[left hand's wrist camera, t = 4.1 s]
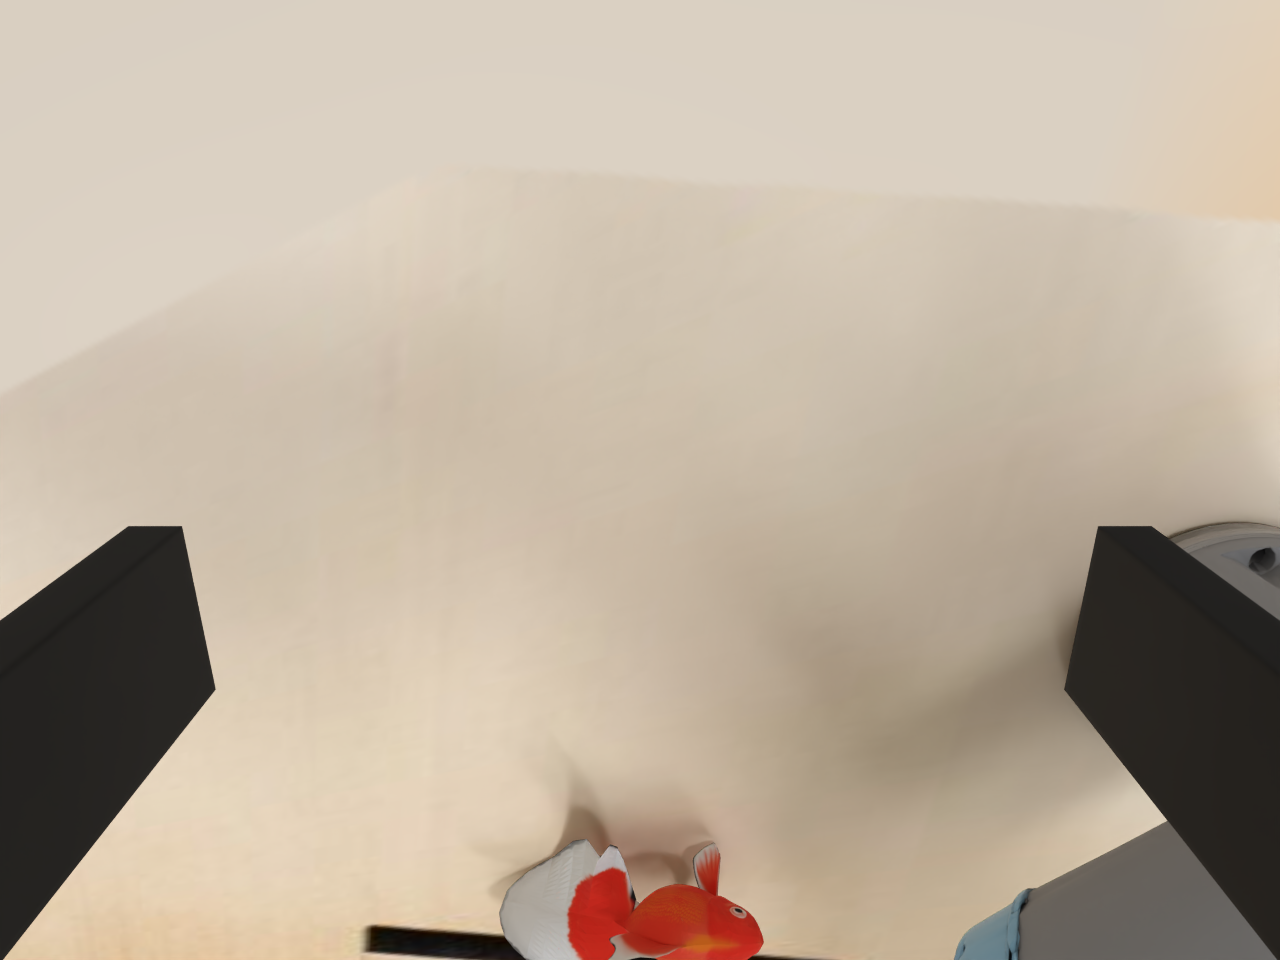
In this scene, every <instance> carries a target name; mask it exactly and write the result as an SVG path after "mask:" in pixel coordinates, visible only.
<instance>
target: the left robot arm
mask: <svg viewBox="0 0 1280 960" xmlns="http://www.w3.org/2000/svg"><path fill="white" fill-rule="evenodd" d="M215 690H216V689H215V684H214V679H213V674H212V669H211V665H210V660H209V655H208V650H207V645H206V640H205V636H204V631H203V626H202V621H201V616H200V611H199V607H198V602H197V597H196V592H195V587H194V582H193V578H192V573H191V568H190V563H189V558H188V553H187V549H186V544H185V539H184V534H183V529H182V526H128V527H127V528H125V529H124V530H123V531H121V532H120V533H119V534H117V535H116V536H115V537H113V538H112V539H110V540H109V541H108V542H106V543H105V544H104V545H102V546H101V547H100V548H98V549H97V550H95V551H94V552H93V553H91V554H90V555H89V556H87V557H86V558H85V559H83V560H82V561H81V562H79V563H78V564H76V565H75V566H74V567H72V568H71V569H70V570H68V571H67V572H66V573H64V574H63V575H61V576H60V577H59V578H57V579H56V580H55V581H53V582H52V583H51V584H49V585H48V586H47V587H45V588H44V589H42V590H41V591H40V592H38V593H37V594H36V595H34V596H33V597H32V598H30V599H29V600H27V601H26V602H25V603H23V604H22V605H21V606H19V607H18V608H17V609H15V610H14V611H13V612H11V613H10V614H8V615H7V616H6V617H4V618H3V619H2V620H0V960H3V959H4V958H5V956H6V955H7V954H8V953H9V951H10V950H11V949H12V948H13V946H14V945H15V944H16V942H17V941H18V940H19V939H20V937H21V936H22V935H23V934H24V932H25V931H26V930H27V929H28V927H29V926H30V925H31V923H32V922H33V921H34V920H35V918H36V917H37V916H38V915H39V913H40V912H41V911H42V909H43V908H44V907H45V906H46V904H47V903H48V902H49V901H50V899H51V898H52V897H53V895H54V894H55V893H56V892H57V890H58V889H59V888H60V887H61V885H62V884H63V883H64V881H65V880H66V879H67V878H68V876H69V875H70V874H71V873H72V871H73V870H74V869H75V868H76V866H77V865H78V864H79V862H80V861H81V860H82V859H83V857H84V856H85V855H86V854H87V852H88V851H89V850H90V848H91V847H92V846H93V845H94V843H95V842H96V841H97V840H98V838H99V837H100V836H101V834H102V833H103V832H104V831H105V829H106V828H107V827H108V826H109V824H110V823H111V822H112V820H113V819H114V818H115V817H116V815H117V814H118V813H119V812H120V810H121V809H122V808H123V807H124V805H125V804H126V803H127V801H128V800H129V799H130V798H131V796H132V795H133V794H134V793H135V791H136V790H137V789H138V787H139V786H140V785H141V784H142V782H143V781H144V780H145V779H146V777H147V776H148V775H149V773H150V772H151V771H152V770H153V768H154V767H155V766H156V765H157V763H158V762H159V761H160V759H161V758H162V757H163V756H164V754H165V753H166V752H167V751H168V749H169V748H170V747H171V746H172V744H173V743H174V742H175V740H176V739H177V738H178V737H179V735H180V734H181V733H182V732H183V730H184V729H185V728H186V726H187V725H188V724H189V723H190V721H191V720H192V719H193V718H194V716H195V715H196V714H197V712H198V711H199V710H200V709H201V707H202V706H203V705H204V704H205V702H206V701H207V700H208V698H209V697H210V696H211V695H212V693H213V692H214V691H215ZM1064 690H1065V691H1066V692H1067V693H1068V695H1069V696H1070V697H1071V698H1072V700H1073V701H1074V702H1075V704H1076V705H1077V706H1078V707H1079V709H1080V710H1081V711H1082V712H1083V714H1084V715H1085V716H1086V718H1087V719H1088V720H1089V721H1090V723H1091V724H1092V725H1093V726H1094V728H1095V729H1096V730H1097V732H1098V733H1099V734H1100V735H1101V737H1102V738H1103V739H1104V740H1105V742H1106V743H1107V744H1108V746H1109V747H1110V748H1111V749H1112V751H1113V752H1114V753H1115V754H1116V756H1117V757H1118V758H1119V759H1120V761H1121V762H1122V763H1123V765H1124V766H1125V767H1126V768H1127V770H1128V771H1129V772H1130V773H1131V775H1132V776H1133V777H1134V779H1135V780H1136V781H1137V782H1138V784H1139V785H1140V786H1141V787H1142V789H1143V790H1144V791H1145V793H1146V794H1147V795H1148V796H1149V798H1150V799H1151V800H1152V801H1153V803H1154V804H1155V805H1156V807H1157V808H1158V809H1159V810H1160V812H1161V813H1162V814H1163V815H1164V817H1165V818H1166V819H1167V820H1168V821H1166V822H1164V823H1163V824H1161V825H1159V826H1157V827H1155V828H1153V829H1151V830H1149V831H1147V832H1146V833H1144V834H1142V835H1140V836H1138V837H1136V838H1134V839H1132V840H1130V841H1129V842H1127V843H1125V844H1123V845H1121V846H1119V847H1117V848H1115V849H1113V850H1111V851H1109V852H1107V853H1105V854H1103V855H1101V856H1100V857H1098V858H1096V859H1094V860H1092V861H1090V862H1088V863H1086V864H1084V865H1082V866H1080V867H1078V868H1076V869H1074V870H1072V871H1070V872H1068V873H1066V874H1064V875H1062V876H1060V877H1058V878H1056V879H1054V880H1052V881H1050V882H1048V883H1046V884H1044V885H1042V886H1040V887H1038V888H1033V889H1026V890H1024V891H1022V892H1021V893H1020V894H1019V895H1018V896H1017V897H1016V898H1015V900H1014V902H1013V903H1011V904H1010V905H1008V906H1007V907H1005V908H1003V909H1002V910H1000V911H998V912H997V913H995V914H993V915H992V916H990V917H988V918H987V919H985V920H983V921H982V922H980V923H978V924H976V925H975V926H973V927H972V928H971V929H969V930H968V932H966V933H965V935H964V936H963V937H962V939H961V940H960V942H959V944H958V947H957V950H956V955H955V958H954V960H1280V528H1277V527H1273V526H1268V525H1263V524H1253V523H1230V524H1220V525H1214V526H1208V527H1204V528H1200V529H1196V530H1192V531H1189V532H1186V533H1183V534H1180V535H1178V536H1175V537H1173V538H1171V539H1168V538H1167V537H1165V536H1164V535H1163V534H1161V533H1160V532H1159V531H1157V530H1156V529H1155V528H1153V527H1152V526H1098V529H1097V534H1096V539H1095V544H1094V549H1093V553H1092V558H1091V563H1090V568H1089V573H1088V578H1087V582H1086V587H1085V592H1084V597H1083V602H1082V607H1081V611H1080V616H1079V621H1078V626H1077V631H1076V636H1075V640H1074V645H1073V650H1072V655H1071V660H1070V665H1069V669H1068V674H1067V679H1066V684H1065V689H1064Z"/></svg>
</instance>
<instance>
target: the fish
mask: <svg viewBox="0 0 1280 960" xmlns="http://www.w3.org/2000/svg"><path fill="white" fill-rule="evenodd" d="M693 866H694V873H695V877H696V881H697V884H698V887H699V888H697V887H694V886H689V885H683V884H674V885H669V886H665V887H663V888H660V889H658V890H656V891H654V892H653V893H652V894H650V895H649V896H648V897H646V898H645V899H644V900H643V901H642V902H641V903H638V902H637V901H636V898H635V894H634V891H633V888H632V885H631V881H630V878H629V875H628V872H627V869H626V866H625V863H624V861H623V858H622V856H621V854H620V852H619V850H618V848H617V847H616V846H613V845H610V846H609V847H608V848H607V849H606V851H605V852H604V853H603V854H602V856H601V857H599V855H598V854H597V852H596V851H595V850H594V848H593V847H592V845H591V844H590V843H589V841H588V840H587V839H584V840H577V841H573V842H571V843H570V844H569V845H568V846H566V847H565V848H564V849H563V850H561V851H560V852H559V853H558V854H556V855H555V856H554V857H553V858H551V859H549V860H547V861H545V862H543V863H541V864H539V865H537V866H536V867H534V868H533V869H531V870H530V871H528V872H527V873H526V874H524V875H523V876H522V877H521V878H520V879H518V880H517V881H516V882H515V883H514V884H513V885H512V886H511V887H510V888H509V889H508V890H507V892H506V895H505V898H504V901H503V903H502V906H501V909H500V912H499V915H500V922H501V926H502V929H503V932H504V935H505V937H506V939H507V940H508V941H509V943H510V944H511V945H512V946H513V948H514V949H515V950H516V951H517V952H519V953H520V954H521V955H522V956H523V957H524V958H525V959H526V960H629V959H633V958H638V957H648V958H656V959H658V960H747V959H749V958H750V957H751V956H753V955H754V954H756V953H758V952H759V950H760V948H761V947H762V945H763V943H764V941H763V936H762V933H761V931H760V928H759V926H758V924H757V922H756V920H755V919H754V917H753V916H752V915H751V914H750V913H749V912H748V911H746V910H745V909H744V908H742V907H740V906H738V905H736V904H734V903H732V902H731V901H729V900H727V899H726V898H724V897H722V896H718V879H719V869H720V853H719V852H718V848H717V847H716V845H715V844H714V843H712V844H710V845H708V846H706V847H704V848H703V849H702V850H701V851H699V852H698V853H697V854H696V855H695V857H694V858H693Z"/></svg>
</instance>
